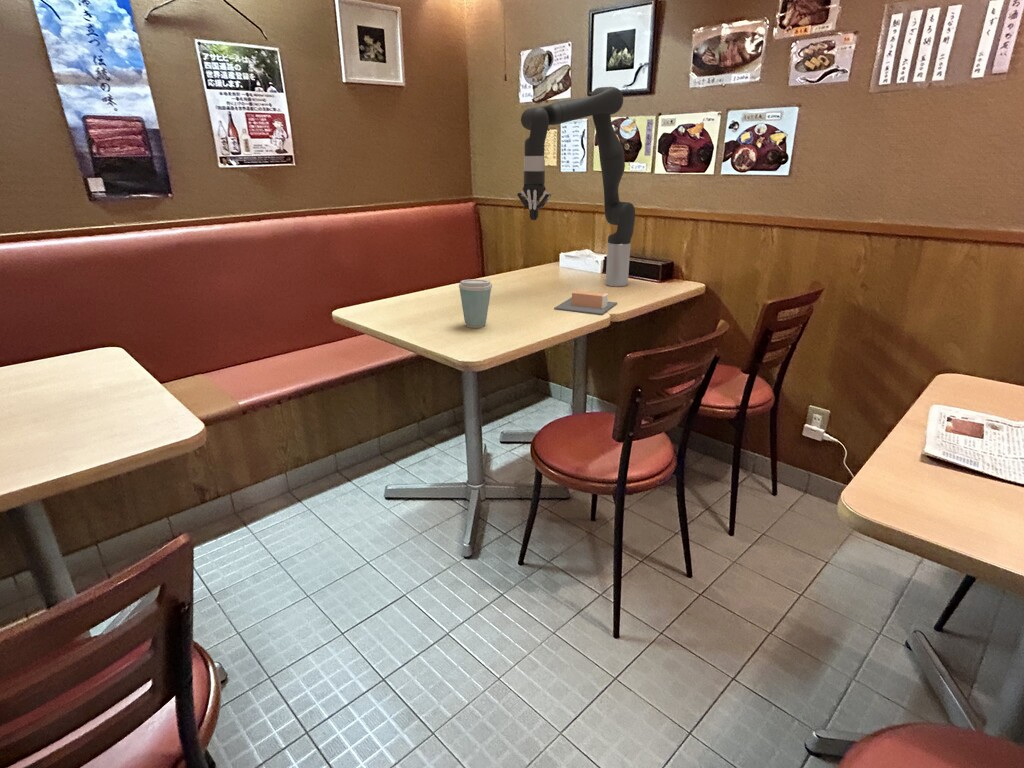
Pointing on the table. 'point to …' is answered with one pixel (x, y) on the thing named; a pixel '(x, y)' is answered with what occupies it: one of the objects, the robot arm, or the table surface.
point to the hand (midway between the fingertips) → (533, 220)
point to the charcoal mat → (584, 308)
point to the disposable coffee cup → (475, 301)
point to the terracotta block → (589, 299)
